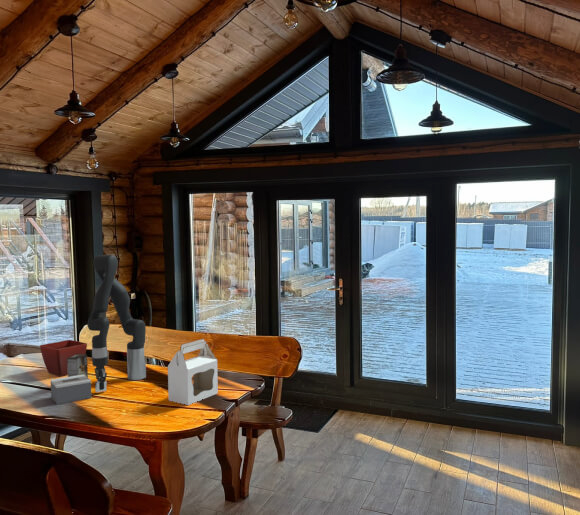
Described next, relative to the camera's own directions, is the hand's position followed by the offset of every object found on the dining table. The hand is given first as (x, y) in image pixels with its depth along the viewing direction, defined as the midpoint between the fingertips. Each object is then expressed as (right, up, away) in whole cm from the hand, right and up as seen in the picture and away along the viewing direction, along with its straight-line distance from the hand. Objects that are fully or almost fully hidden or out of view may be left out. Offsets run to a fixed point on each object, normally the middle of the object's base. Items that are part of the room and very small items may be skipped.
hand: (101, 388), depth 273 cm
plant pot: (-35, 0, +38) cm, 51 cm away
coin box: (-12, -3, -7) cm, 15 cm away
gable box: (+49, -3, -7) cm, 49 cm away
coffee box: (-17, -2, +13) cm, 21 cm away
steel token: (0, -1, 0) cm, 1 cm away
